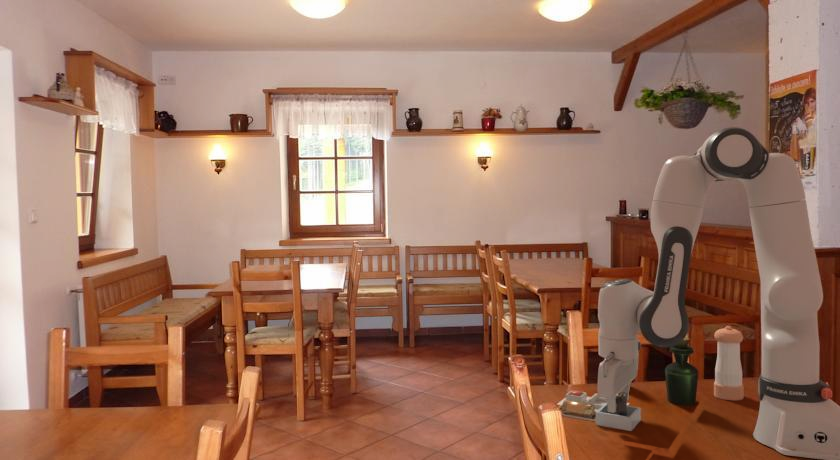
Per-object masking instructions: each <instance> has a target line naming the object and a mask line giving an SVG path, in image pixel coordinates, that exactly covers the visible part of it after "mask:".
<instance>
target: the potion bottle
mask: <svg viewBox="0 0 840 460" xmlns="http://www.w3.org/2000/svg"><path fill="white" fill-rule="evenodd" d="M689 341H690V338H689V337H685V338H684V339H683V340H682V341H681V342H680V343H678V344H676V345H674V346H671V347H669V352H670V353H672V354H673V356H674V360H675V361H673V362H671V363H669V364H667V365H666V367H665V369H664V374H665V376H664V377H665V385H666V387H665V388H666V396H667V402H669V403H670V404H673V405H676V406H684V407H685V406H694V405H696V401H697V400H696V399H697V392H698V381H699V380H698V379H699V370H698V369H697V367H696V366H694V365H693V364H691V363H690V362H688V361H689V357H690V355H692V354H693V353H694V348H693V347H692V346H690V345H689V343H690V342H689Z"/></svg>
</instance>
